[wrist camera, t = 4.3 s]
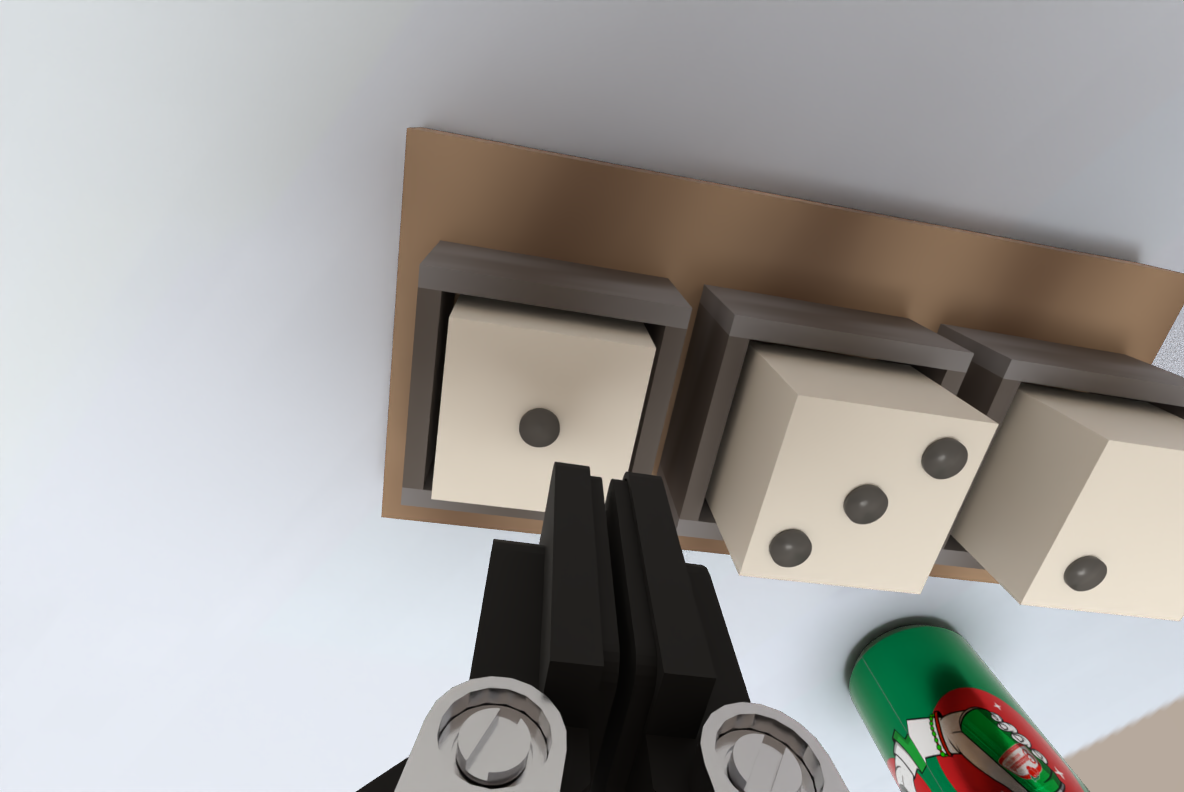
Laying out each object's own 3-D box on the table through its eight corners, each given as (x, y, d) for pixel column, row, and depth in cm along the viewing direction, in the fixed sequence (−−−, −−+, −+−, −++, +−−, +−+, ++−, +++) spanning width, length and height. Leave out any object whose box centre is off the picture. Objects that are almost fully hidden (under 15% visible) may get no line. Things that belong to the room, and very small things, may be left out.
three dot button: (909, 365, 16) (1003, 426, 13) (852, 510, 18) (923, 598, 15) (746, 340, 16) (800, 398, 12) (703, 492, 17) (741, 580, 14)
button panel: (1138, 262, 20) (1315, 304, 15) (993, 551, 24) (1099, 652, 20) (421, 127, 17) (377, 129, 13) (395, 483, 21) (354, 581, 17)
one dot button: (634, 305, 17) (657, 350, 14) (604, 451, 19) (617, 523, 15) (467, 279, 16) (448, 318, 13) (450, 431, 18) (430, 502, 15)
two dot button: (1146, 401, 17) (1291, 468, 14) (1072, 537, 19) (1185, 625, 16) (1000, 379, 17) (1115, 443, 13) (936, 520, 18) (1024, 609, 15)
